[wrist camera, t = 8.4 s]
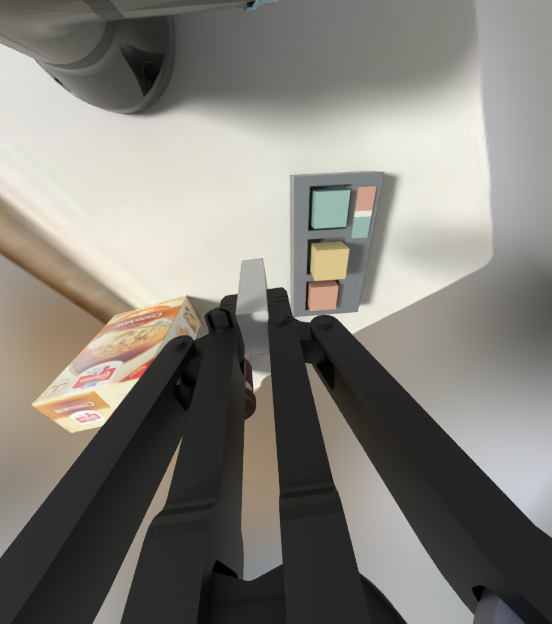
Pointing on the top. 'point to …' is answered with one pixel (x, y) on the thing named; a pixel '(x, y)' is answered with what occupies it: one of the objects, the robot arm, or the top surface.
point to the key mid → (329, 260)
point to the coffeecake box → (114, 363)
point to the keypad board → (332, 235)
